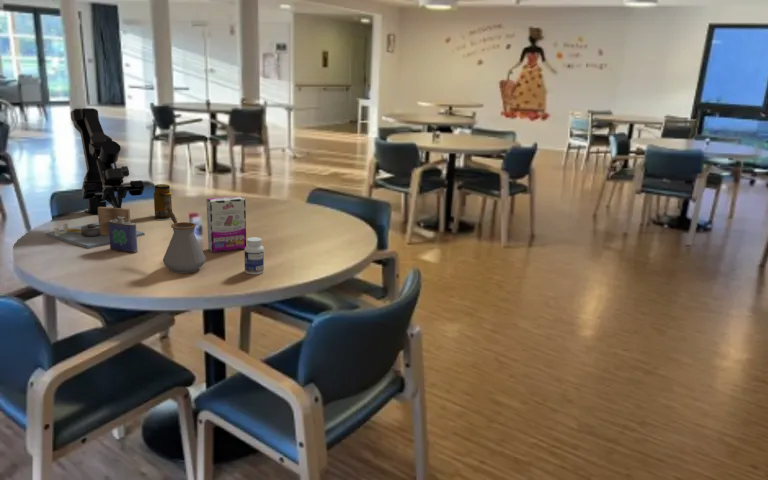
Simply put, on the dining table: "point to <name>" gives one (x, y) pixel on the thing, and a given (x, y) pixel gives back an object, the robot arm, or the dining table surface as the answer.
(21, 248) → the dining table surface
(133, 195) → the robot arm
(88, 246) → the stand
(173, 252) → the coffee pot
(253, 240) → the pill bottle
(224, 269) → the dining table surface
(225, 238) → the candy bar box
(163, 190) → the condiment
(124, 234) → the flask
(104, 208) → the brown piece
